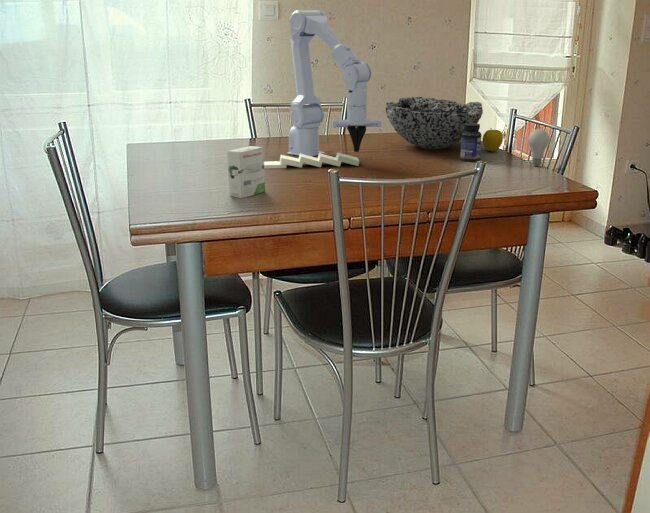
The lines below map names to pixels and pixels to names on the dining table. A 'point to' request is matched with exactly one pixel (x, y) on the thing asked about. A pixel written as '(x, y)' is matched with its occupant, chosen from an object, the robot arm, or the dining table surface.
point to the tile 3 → (309, 160)
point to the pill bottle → (470, 142)
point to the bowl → (431, 120)
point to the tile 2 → (290, 161)
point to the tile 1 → (273, 165)
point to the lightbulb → (538, 145)
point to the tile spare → (347, 159)
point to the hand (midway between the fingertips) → (356, 151)
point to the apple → (492, 140)
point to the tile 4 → (328, 159)
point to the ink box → (246, 171)
